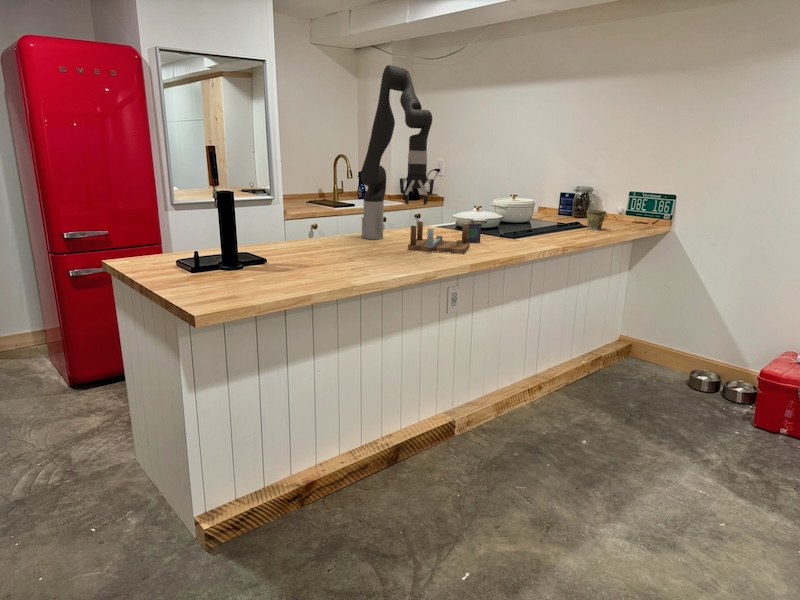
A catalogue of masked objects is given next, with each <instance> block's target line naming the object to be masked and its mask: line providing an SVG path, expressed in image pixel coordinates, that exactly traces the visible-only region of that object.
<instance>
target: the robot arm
mask: <svg viewBox="0 0 800 600" xmlns="http://www.w3.org/2000/svg"><path fill="white" fill-rule="evenodd" d="M391 90H393V91H396V92H401V95H400V98H399V99H400V100H399V102H400V105H401V107H402V109H403V111H404V122H405V125H406V127H408V128H410V129H420V130H419V132H418V133H415V134H412V135H410V136H409V139H408V155H407V177H401V178H399V188H400V189H399V190H400V194H402V195H404V203H405V205H409V203H410V202H409V199H410V198H409V197H410V195H409V193H410V191H411V190H412V189H421V191H422V193H423V194H424V195H423V206H426V205H427V204H428V198H429V197H428V196H429V195H432V194H433V190H434V182H435V179H433V178H428V176H427V172H428V171H427V169H428V167H427V165H428V154H427V153H428V152H427V148H428V147H427V146H428V144H427V143H428V137H429V133H430V129H431V127H432V124H433V115H432V113H431V111H430V110H428V109H422V104H421V101H420V100H419V98H418V97H417V95H416V92H415V88H414V85H413V81H412V77H411V73H410V72H409V70H407V69H406V68H404V67H399V66H395V65H391V64H389V65H386V66H385V68H384V70H383V71H382V77H381V82H380V89H379V97H378V102H377V106H376V112H375V116H374V120H373V124H372V128H371V134H370V139H369V142H368V147H367V152H366V156H365V158H364V161H363V165H362V167H361V171H360V180H361V182H362V184H363V185H364V186H366V187H367V190H366V192H365V193H364V194H363V217H361V238H362V239H366V240H381V239H384V211H385V210H384V208H385V207H384V204H385V203H384V198H385V195H386V189H387V172H386V169H385V167H383V165H380V164H381V160H382V157H383V155H384V153H385V151H386V149H387V148H388V146H389V145H390V143H391V140H392V139H393V134H394V130H395V125H396V123H395V122H396V121H395V117H394V113H393V111H392V107H391V103H390V102H391V101H390V93H391ZM406 182H407V184H408V187H407V189H406V190H405V185H404V184H405V183H406ZM427 182H428V185H430V186H429V191H428V190H427V189H426V186H425V185H426V183H427Z"/></svg>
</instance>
